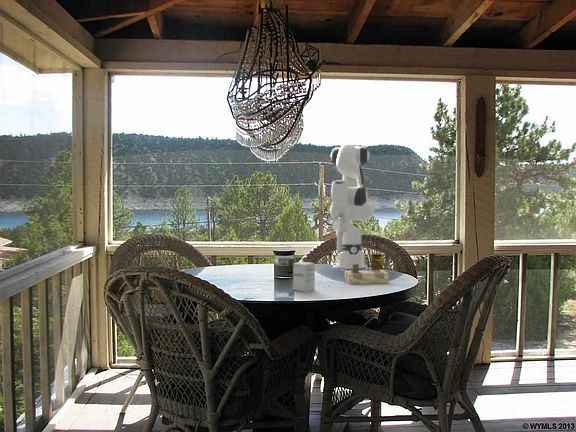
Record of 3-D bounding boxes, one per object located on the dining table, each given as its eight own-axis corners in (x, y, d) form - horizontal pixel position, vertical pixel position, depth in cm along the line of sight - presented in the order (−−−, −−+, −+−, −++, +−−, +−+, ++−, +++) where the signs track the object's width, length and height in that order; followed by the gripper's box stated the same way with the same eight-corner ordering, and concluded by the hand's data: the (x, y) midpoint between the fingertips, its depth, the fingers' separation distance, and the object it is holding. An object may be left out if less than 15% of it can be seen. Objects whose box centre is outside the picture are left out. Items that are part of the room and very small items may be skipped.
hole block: (344, 280, 277) (344, 271, 276) (383, 280, 279) (383, 270, 279) (348, 283, 268) (348, 273, 268) (388, 283, 270) (388, 273, 270)
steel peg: (336, 251, 277) (336, 227, 276) (342, 251, 277) (342, 227, 277) (337, 252, 274) (337, 228, 273) (343, 252, 274) (343, 228, 274)
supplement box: (292, 290, 251) (292, 263, 251) (302, 288, 257) (302, 261, 256) (305, 292, 246) (305, 264, 246) (315, 289, 252) (315, 262, 252)
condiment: (385, 276, 290) (386, 254, 289) (373, 278, 285) (374, 255, 284) (376, 275, 296) (376, 253, 295) (364, 276, 291) (364, 254, 290)
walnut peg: (351, 281, 274) (351, 263, 274) (357, 281, 274) (357, 263, 274) (353, 282, 271) (353, 264, 271) (359, 282, 271) (359, 264, 271)
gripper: (350, 213, 264) (350, 241, 265) (342, 211, 285) (342, 237, 286) (337, 213, 264) (337, 241, 265) (330, 211, 284) (330, 238, 285)
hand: (339, 239), depth 275 cm, fingers closed on steel peg, 3 cm apart
